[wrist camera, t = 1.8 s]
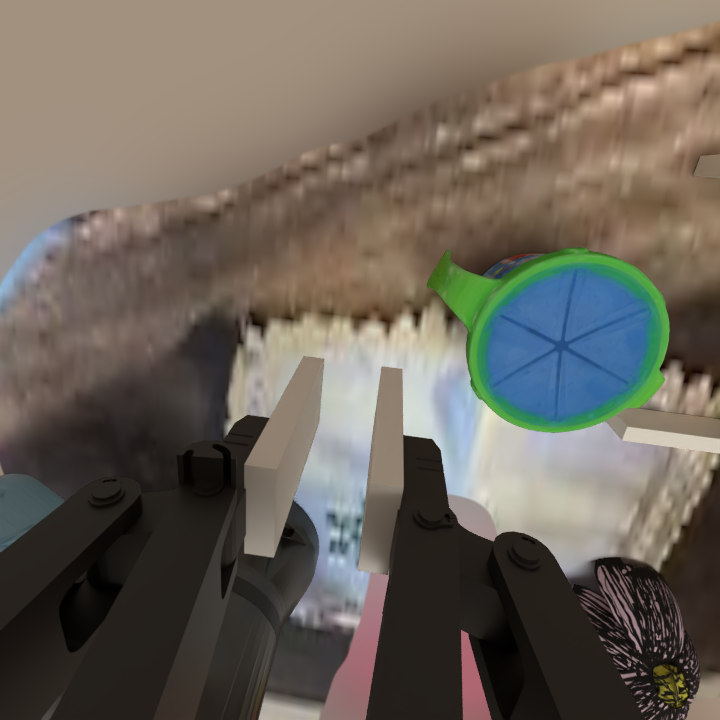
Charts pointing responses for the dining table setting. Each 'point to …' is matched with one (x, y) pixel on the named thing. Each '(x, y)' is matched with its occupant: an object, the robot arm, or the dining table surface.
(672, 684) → the decorative flower
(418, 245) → the dining table surface
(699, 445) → the fence
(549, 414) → the snack cup
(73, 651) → the robot arm
